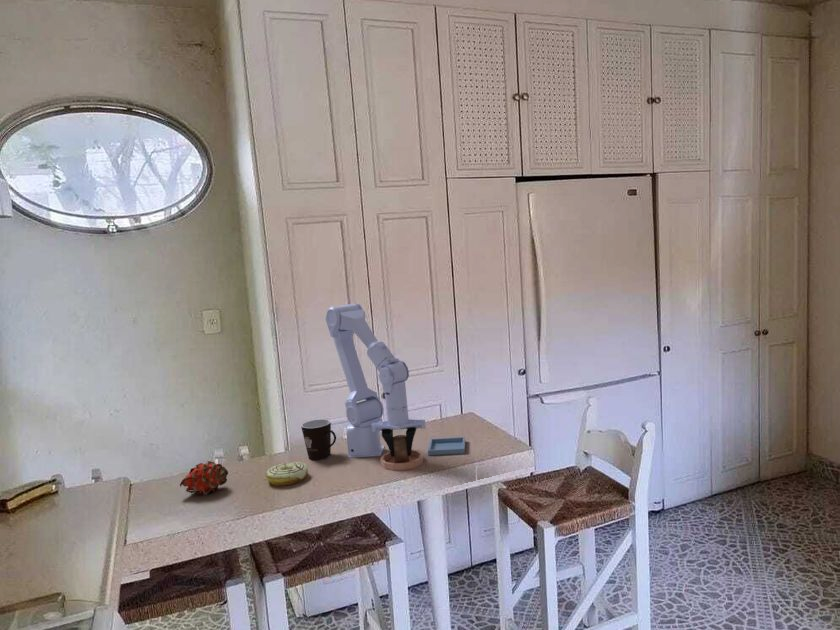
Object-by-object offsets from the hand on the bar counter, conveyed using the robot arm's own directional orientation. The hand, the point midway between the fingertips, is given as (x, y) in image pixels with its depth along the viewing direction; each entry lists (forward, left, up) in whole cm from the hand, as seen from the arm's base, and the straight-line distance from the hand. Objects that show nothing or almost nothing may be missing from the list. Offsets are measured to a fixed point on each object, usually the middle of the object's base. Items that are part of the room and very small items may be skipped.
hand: (401, 455), depth 157 cm
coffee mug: (-25, +8, -3) cm, 26 cm away
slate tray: (+12, +9, -2) cm, 15 cm away
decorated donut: (-30, -7, -3) cm, 31 cm away
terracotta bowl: (0, 0, -2) cm, 2 cm away
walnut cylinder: (0, 0, -2) cm, 2 cm away
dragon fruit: (-50, -13, -3) cm, 52 cm away
